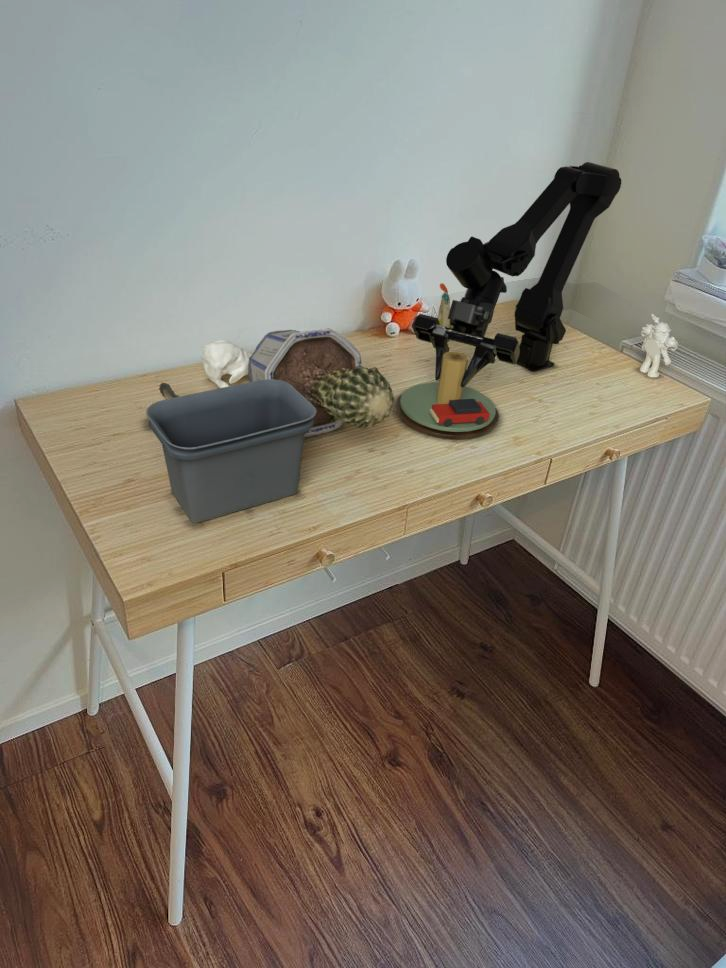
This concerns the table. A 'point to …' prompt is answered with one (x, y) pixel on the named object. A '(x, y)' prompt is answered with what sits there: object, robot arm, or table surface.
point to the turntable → (448, 400)
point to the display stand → (444, 434)
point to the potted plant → (324, 377)
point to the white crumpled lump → (224, 361)
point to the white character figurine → (656, 346)
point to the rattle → (444, 308)
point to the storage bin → (232, 445)
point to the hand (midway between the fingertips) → (449, 383)
